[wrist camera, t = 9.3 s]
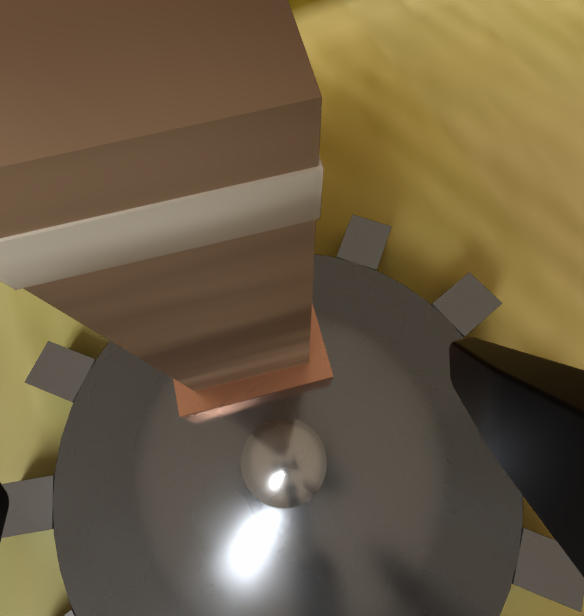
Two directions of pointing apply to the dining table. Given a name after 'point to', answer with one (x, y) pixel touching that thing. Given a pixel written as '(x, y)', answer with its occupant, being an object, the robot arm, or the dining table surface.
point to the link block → (164, 177)
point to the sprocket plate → (292, 472)
